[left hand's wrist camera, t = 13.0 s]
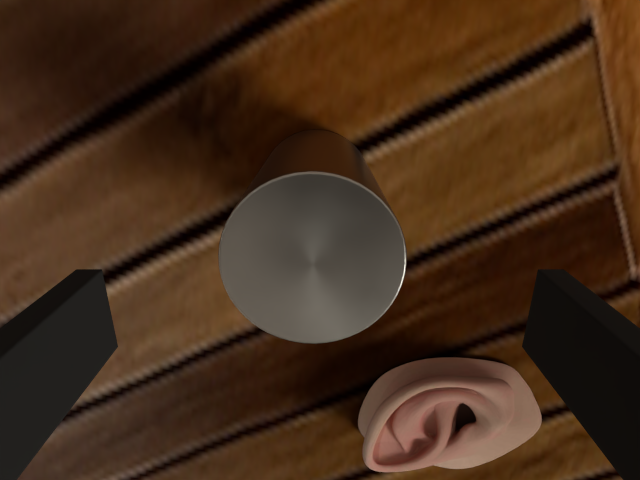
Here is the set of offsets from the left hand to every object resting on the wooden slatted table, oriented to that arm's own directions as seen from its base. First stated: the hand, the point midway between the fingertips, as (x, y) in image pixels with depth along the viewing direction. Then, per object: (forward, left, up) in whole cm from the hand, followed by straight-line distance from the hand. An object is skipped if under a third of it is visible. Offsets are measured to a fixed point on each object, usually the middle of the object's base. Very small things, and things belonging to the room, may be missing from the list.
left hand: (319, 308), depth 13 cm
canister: (0, +1, -14) cm, 14 cm away
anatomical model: (+1, -20, -14) cm, 24 cm away
